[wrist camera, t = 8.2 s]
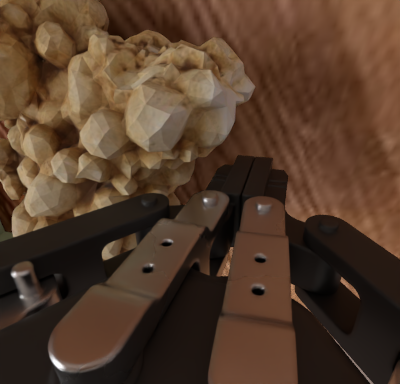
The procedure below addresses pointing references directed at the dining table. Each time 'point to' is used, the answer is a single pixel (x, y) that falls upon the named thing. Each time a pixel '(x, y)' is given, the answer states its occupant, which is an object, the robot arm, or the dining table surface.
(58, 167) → the mineral formation
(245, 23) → the dining table surface
